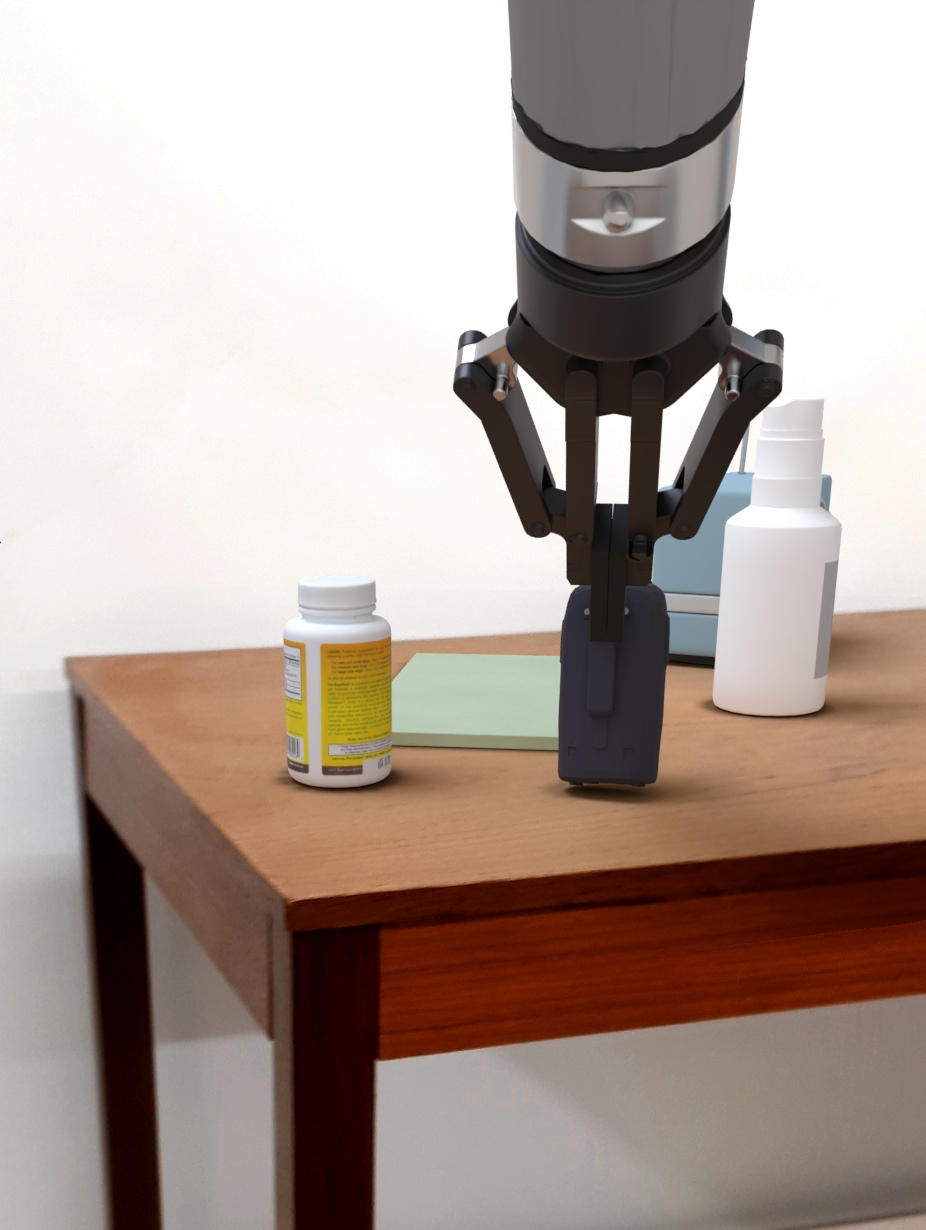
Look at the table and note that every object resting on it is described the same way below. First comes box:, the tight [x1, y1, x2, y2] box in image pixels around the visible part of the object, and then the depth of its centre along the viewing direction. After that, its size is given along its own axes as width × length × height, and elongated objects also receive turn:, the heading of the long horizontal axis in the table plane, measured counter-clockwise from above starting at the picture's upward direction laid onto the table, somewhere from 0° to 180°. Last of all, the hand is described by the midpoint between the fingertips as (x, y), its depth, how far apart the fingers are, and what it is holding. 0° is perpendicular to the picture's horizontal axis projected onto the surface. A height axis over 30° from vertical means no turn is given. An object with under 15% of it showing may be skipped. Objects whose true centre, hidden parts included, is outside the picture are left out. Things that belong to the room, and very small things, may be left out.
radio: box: [651, 423, 833, 666], centre depth 119 cm, size 16×9×20 cm, turn 150°
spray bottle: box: [712, 397, 843, 717], centre depth 101 cm, size 7×7×18 cm
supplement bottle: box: [282, 574, 393, 789], centre depth 87 cm, size 6×6×10 cm
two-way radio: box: [557, 580, 670, 788], centre depth 83 cm, size 6×4×15 cm
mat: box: [392, 652, 561, 751], centre depth 106 cm, size 16×26×1 cm, turn 169°
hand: (608, 618), depth 80 cm, fingers closed
